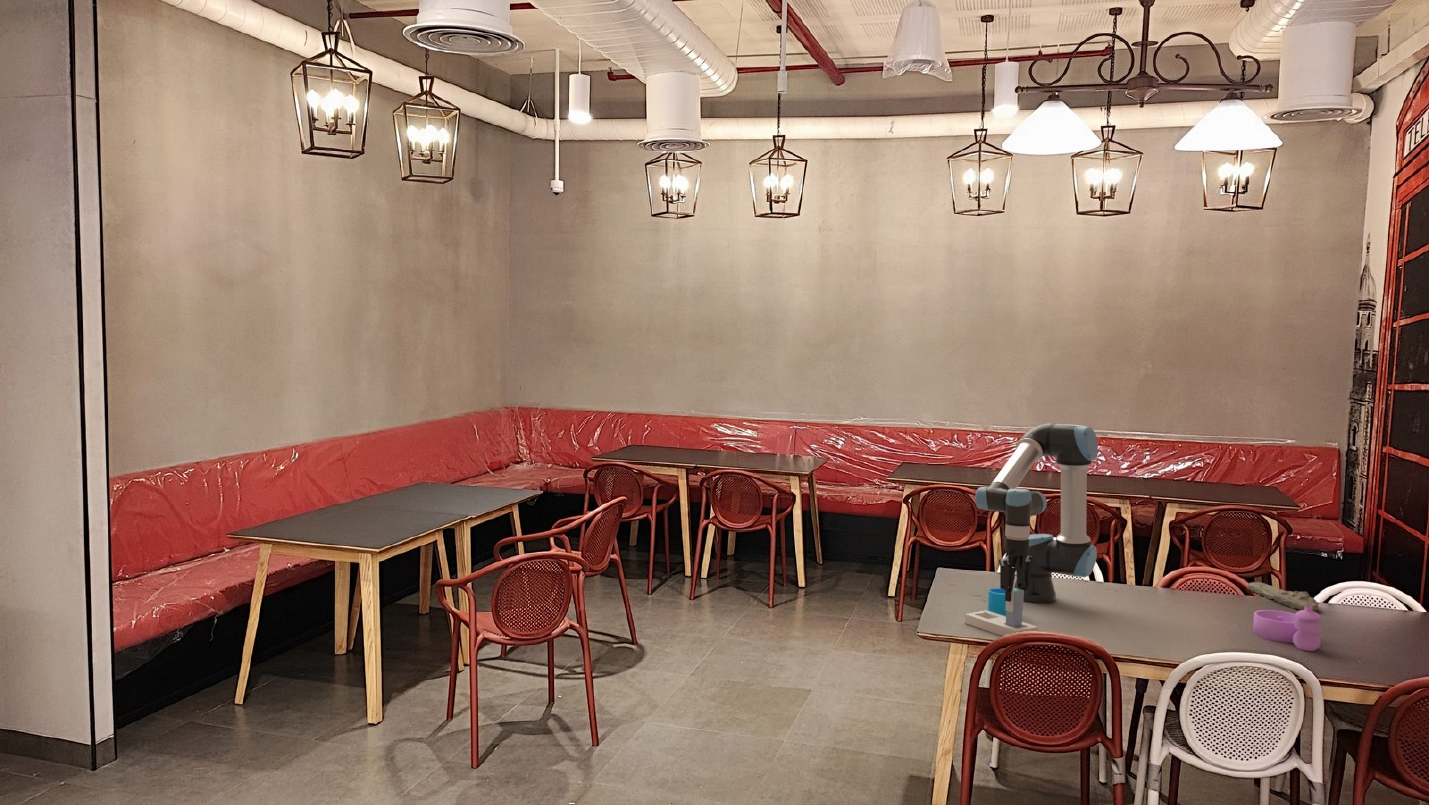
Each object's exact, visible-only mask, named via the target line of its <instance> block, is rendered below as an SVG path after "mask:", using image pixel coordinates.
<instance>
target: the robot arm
mask: <svg viewBox="0 0 1429 805" xmlns="http://www.w3.org/2000/svg"><path fill="white" fill-rule="evenodd" d="M1098 443H1099V442H1098V438H1097V434H1096V432H1095V430H1094V429H1093V427H1092V428H1091V426H1090V427H1089V426H1088V425H1087V426H1086V425H1080V424H1066V423H1065V424H1064V423H1063V424H1062V423H1061V424H1060V423H1052V422H1051V423H1048V422H1047V423H1043V424H1040V425H1038V426H1035V427H1033V428H1032V429H1030V430H1029V431H1027V432H1026V433H1025V434H1023V436H1021V437H1020V438H1019V440H1018V441H1017V443H1016V446H1015V450H1014V452H1013V454H1012V455H1011V456H1010V457H1009V459H1008V460H1007V461H1006V463H1005V464H1004V466H1003V467H1002V468H1001V470H1000V471H999V472H998V474H997V475H996V477H995V478H994V479H993V481H992V482H991V484H989V486H988V487H987V486H980V487H978V488H977V490H976V492H975V496H974V502H975V505H976V507H977V508H978V509H981V510H986V511H992V512H999V513H1005V529H1004V530H1005V532H1004V535H1005V538H1004V549H1005V550H1006V551H1005V557H1004V558H1003V559H1002V558H999V559H998V563H999V568H1000V569H999V570H1000V571H999V578H1000V579H999V581H1000V584H999V587H1000V588H1001V589H1003V590H1005V601H1006V611H1010V612H1014V592H1013V588H1017V589H1021V590H1023V602H1030V603H1043V604H1044V603H1052V602H1055V601H1056V600H1057V593H1056V591H1055V586H1054V583H1053V579H1052V578H1053V577H1052V576H1053V575H1052V573H1054V574H1060V575H1065V576H1072V577H1077V578H1078V577H1079V578H1080V577H1081V578H1086V577H1087V578H1088V576H1090V575H1091V574H1092V572H1093V570H1094V567H1095V565H1096V562H1097V556H1098V550H1097V547H1096V546H1095V545H1093V544H1091V543H1092V539H1091V537H1090V536H1089V535H1087V499H1088V498H1087V496H1088V495H1087V490H1088V489H1087V485H1088V484H1087V483H1088V482H1087V478H1088V477H1087V476H1088V475H1087V474H1088V473H1087V472H1088V468H1089V467H1090V466H1091V465H1092V461H1093V460H1095V459H1096V458H1097V455H1098V451H1099V444H1098ZM1042 457H1056V465H1058V466H1059V468H1060V533H1059V534H1058V535H1056V538H1055V537H1054V535H1053V534H1049V533H1034V534H1031V531H1030V530H1031V517H1034V516H1038V515H1040V514H1041V513H1043V512H1044V511H1046V508H1047V505H1048V501H1047V498H1046V497H1045V495H1044V494H1043V492H1040V491H1036V490H1034V491H1033V490H1031V491H1030V489H1026V488H1017V487H1019V486H1020V483H1021V482H1022V481H1023V479H1024V478H1025V476H1026V475H1027V473H1028V472H1029V471H1030V469H1031V468H1032V466H1033V465H1034V464H1035V462H1039V461H1040V460H1041V459H1042ZM1054 538H1055V539H1054ZM1015 578H1016V581H1015ZM1023 610H1024V605H1023V606H1022V611H1023Z"/></svg>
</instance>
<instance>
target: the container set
mask: <svg viewBox="0 0 1429 805" xmlns="http://www.w3.org/2000/svg"><path fill="white" fill-rule="evenodd" d="M1312 609H1313V607H1310V606H1305V607H1304V610H1298V611H1296V613H1294V612H1289V611H1285V610H1284V611H1283V610H1282V611H1281V610H1274V609H1273V610H1272V609H1261V610H1256V611H1254V612H1253V626H1252V634H1254V635H1255V636H1258V637H1260V638H1262V639H1266V640H1270V641H1276V642H1279V643H1280V642H1282V643H1292V644H1294V646H1295V647H1296V648H1297V649H1299V650H1301V651H1307V652H1315V651H1316V650H1318V648H1320V647H1321V643H1322V642H1321V641H1322V640H1321V638H1320V636H1319V635H1318V634H1317V633H1319V632H1320V631H1321V629H1322V624H1321V622H1320V621H1321V615H1320V614H1319V613H1317V612H1316V611H1312Z"/></svg>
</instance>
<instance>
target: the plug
mask: <svg viewBox="0 0 1429 805" xmlns="http://www.w3.org/2000/svg"><path fill="white" fill-rule="evenodd" d="M1013 592H1014V612H1010V611H1006V625H1008V626H1011V627H1014V628H1015V627H1020V626H1022V622H1023V610H1022V606H1023V607H1024V601H1023V590H1021V589H1017V588H1014V587H1013Z"/></svg>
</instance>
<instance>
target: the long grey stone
mask: <svg viewBox="0 0 1429 805" xmlns="http://www.w3.org/2000/svg"><path fill="white" fill-rule="evenodd" d="M1246 588H1247V590H1248V591H1252V592H1254V593H1255V594H1257V595H1258V596H1262V597H1263V598H1266V599H1268V600H1270V599H1276V600H1273V602H1277V603H1278V604H1281V605H1283V606H1287V607H1289V608H1292V609H1294V610H1295V609H1297V610H1298V611H1301V610H1304V607H1305V606H1310V607H1313V609H1312V611H1314V612H1316V611H1318V610H1319V602H1317V600H1316V599H1315V598H1314V597H1311V596H1310V594H1309V593H1308V591H1297V590H1295V591H1291V590H1284V589H1281V588H1277V587H1276V586H1273V585H1269V584H1267V583H1263V582H1261V581H1260V582H1259V581H1258V582H1255V581H1252V582H1249V583H1248V584H1247V587H1246Z"/></svg>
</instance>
